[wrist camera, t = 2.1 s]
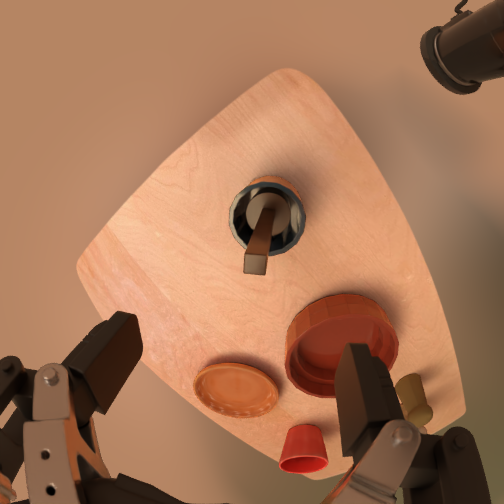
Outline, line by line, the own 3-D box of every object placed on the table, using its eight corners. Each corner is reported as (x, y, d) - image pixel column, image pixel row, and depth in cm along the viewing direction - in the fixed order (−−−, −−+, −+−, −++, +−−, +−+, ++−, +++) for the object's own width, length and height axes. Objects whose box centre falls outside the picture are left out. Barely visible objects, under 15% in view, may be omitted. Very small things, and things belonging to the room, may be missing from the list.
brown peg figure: (416, 389, 44) (431, 427, 34) (392, 395, 45) (404, 435, 35) (423, 370, 42) (441, 409, 32) (398, 376, 43) (412, 418, 33)
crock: (242, 173, 34) (230, 179, 26) (303, 178, 33) (309, 186, 26) (239, 231, 37) (227, 252, 29) (297, 237, 36) (300, 259, 29)
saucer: (283, 407, 49) (283, 418, 46) (209, 407, 51) (206, 417, 49) (273, 352, 43) (272, 364, 41) (186, 355, 46) (181, 366, 43)
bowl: (294, 287, 39) (295, 309, 33) (400, 295, 37) (414, 316, 32) (279, 370, 45) (278, 395, 39) (369, 374, 43) (376, 397, 38)
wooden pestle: (252, 185, 34) (216, 221, 16) (291, 188, 33) (300, 229, 16) (249, 223, 36) (215, 294, 18) (288, 226, 35) (290, 303, 18)
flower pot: (272, 435, 53) (268, 468, 44) (299, 415, 49) (298, 452, 40) (307, 445, 54) (307, 476, 45) (336, 426, 50) (339, 460, 41)
